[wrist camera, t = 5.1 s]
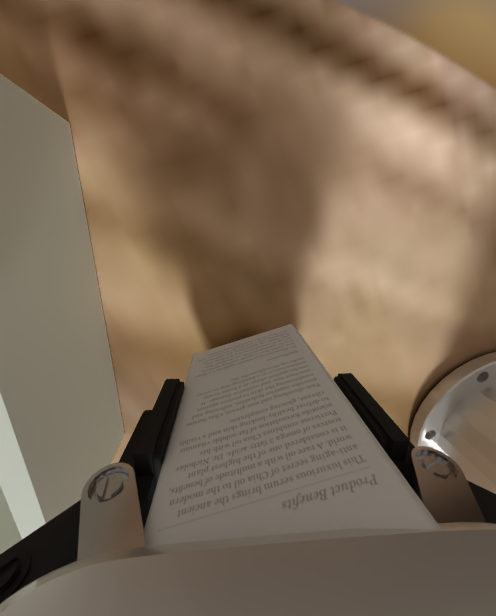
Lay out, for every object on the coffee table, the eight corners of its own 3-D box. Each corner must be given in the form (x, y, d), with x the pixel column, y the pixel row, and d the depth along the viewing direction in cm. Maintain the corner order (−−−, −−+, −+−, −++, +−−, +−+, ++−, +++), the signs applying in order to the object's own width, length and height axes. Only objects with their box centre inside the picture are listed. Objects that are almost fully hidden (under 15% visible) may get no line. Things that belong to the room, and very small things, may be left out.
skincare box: (217, 411, 15) (175, 963, 4) (192, 351, 14) (10, 910, 2) (311, 382, 15) (574, 864, 4) (295, 320, 14) (620, 753, 2)
